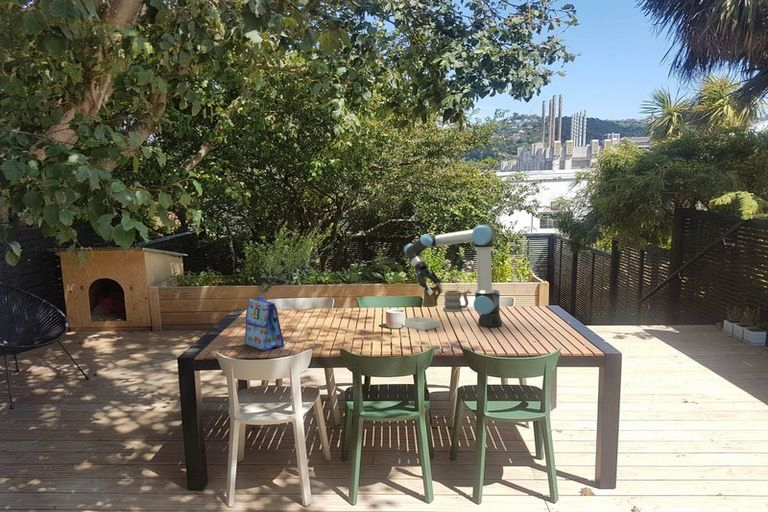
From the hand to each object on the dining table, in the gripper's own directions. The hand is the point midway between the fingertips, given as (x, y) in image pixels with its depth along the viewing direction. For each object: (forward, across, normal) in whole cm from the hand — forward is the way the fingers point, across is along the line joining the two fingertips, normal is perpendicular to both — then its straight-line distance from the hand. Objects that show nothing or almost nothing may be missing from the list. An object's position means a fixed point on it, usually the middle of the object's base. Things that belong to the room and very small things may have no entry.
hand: (436, 293), depth 330 cm
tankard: (-7, -52, -40) cm, 67 cm away
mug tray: (+6, 0, -28) cm, 28 cm away
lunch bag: (-11, +96, -46) cm, 107 cm away
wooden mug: (+4, 0, -8) cm, 9 cm away
